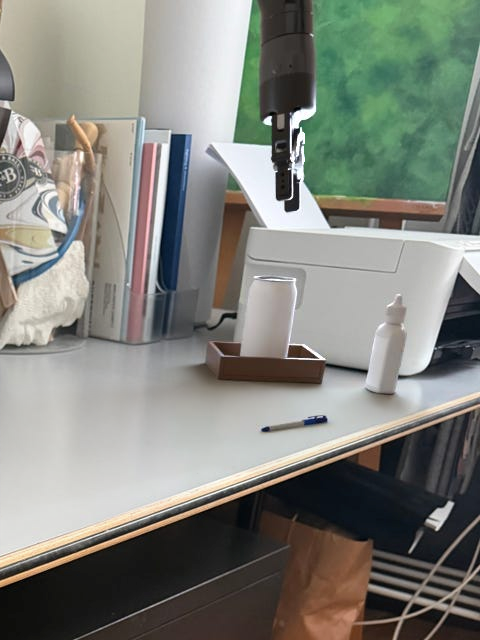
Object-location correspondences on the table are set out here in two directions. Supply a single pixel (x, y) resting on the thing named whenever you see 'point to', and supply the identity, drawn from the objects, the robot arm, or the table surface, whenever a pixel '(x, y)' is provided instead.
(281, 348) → the can
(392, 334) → the eye dropper bottle
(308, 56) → the robot arm
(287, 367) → the tray
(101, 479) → the table surface
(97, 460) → the table surface
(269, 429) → the ballpoint pen
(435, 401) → the table surface
